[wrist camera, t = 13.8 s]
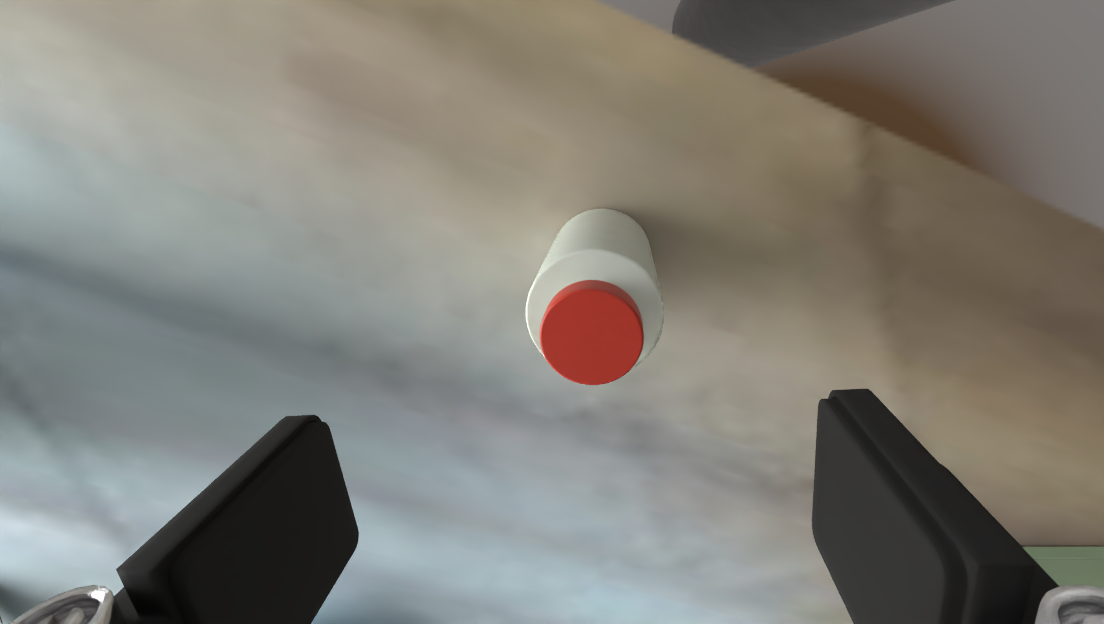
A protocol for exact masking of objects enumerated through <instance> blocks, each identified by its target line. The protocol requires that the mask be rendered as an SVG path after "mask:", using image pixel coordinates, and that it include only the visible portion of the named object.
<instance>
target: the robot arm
mask: <svg viewBox="0 0 1104 624" xmlns="http://www.w3.org/2000/svg"><path fill="white" fill-rule="evenodd" d="M812 529H813V535H814V539H815V542H816V545H817V547H818V549H819V551H820V553H821V556H822V558H823V560H824V562H825V564H826V566H827V568H828V570H829V572H830V574H831V577H832V579H833V581H834V583H835V585H836V587H837V589H838V591H839V593H840V596H841V598H842V600H843V602H844V604H845V606H846V608H847V610H848V612H849V614H850V617H851V619H852V621H853V623H854V624H1104V588H1101V587H1094V586H1087V585H1067V586H1059V585H1058V584H1057V583H1056V582H1055V581H1054V580H1053V579H1052V578H1051V577H1050V576H1049V575H1048V574H1047V573H1046V572H1045V571H1044V570H1043V568H1042V567H1041V566H1040V565H1039V564H1038V563H1037V562H1036V561H1035V560H1034V559H1033V558H1032V557H1031V556H1030V555H1029V554H1028V553H1027V552H1026V551H1025V550H1024V549H1023V547H1022V546H1021V545H1020V544H1019V543H1018V542H1017V541H1016V540H1015V539H1014V538H1013V537H1012V536H1011V535H1010V534H1009V533H1008V532H1007V531H1006V530H1005V529H1004V528H1003V527H1002V525H1001V524H1000V523H999V522H998V521H997V520H996V519H995V518H994V517H993V516H992V515H991V514H990V513H989V512H988V511H987V510H986V509H985V508H984V507H983V506H982V504H981V503H980V502H979V501H978V500H977V499H976V498H975V497H974V496H973V495H972V494H971V493H970V492H969V491H968V490H967V489H966V488H965V487H964V486H963V485H962V483H961V482H960V481H959V480H958V479H957V478H956V477H955V476H954V475H953V474H952V473H951V472H950V471H949V470H948V469H947V468H945V467H944V466H943V465H942V464H939V462H938V461H937V460H936V459H935V458H934V457H933V456H932V455H931V454H930V453H929V452H928V451H927V450H926V449H925V448H924V447H923V446H922V444H921V443H920V442H919V441H918V440H917V439H916V438H915V437H914V436H913V435H912V434H911V433H910V432H909V431H908V430H907V429H906V428H905V426H904V425H903V424H902V423H901V422H900V421H899V420H898V419H897V418H896V417H895V416H894V415H893V414H892V413H891V412H890V411H889V410H888V408H887V407H886V406H885V405H884V404H883V403H882V402H881V401H880V400H879V399H878V398H877V397H876V396H875V395H874V394H873V393H872V391H870V390H869V389H850V390H832V391H831V392H830V395H829V398H828V399H821V400H820V401H819V405H818V419H817V437H816V456H815V475H814V494H813V512H812ZM358 537H359V532H358V527H357V524H356V520H355V517H354V513H353V509H352V506H351V502H350V499H349V495H348V492H347V488H346V485H345V481H344V478H343V474H342V470H341V467H340V463H339V460H338V456H337V453H336V449H335V446H334V442H333V439H332V435H331V431H330V428H329V426H328V425H327V423H325V422H322V421H321V419H320V418H319V417H318V416H316V415H303V416H286V417H285V418H283V419H282V420H281V421H279V422H278V423H277V424H276V425H275V426H274V427H273V428H272V429H271V430H269V431H268V432H267V433H266V434H265V435H264V436H263V437H262V438H261V439H260V440H258V441H257V442H256V443H255V444H254V445H253V446H252V447H251V448H250V449H249V450H247V451H246V452H245V453H244V454H243V455H242V456H241V457H240V458H239V459H237V460H236V461H235V462H234V463H233V464H232V465H231V466H230V467H229V468H228V469H226V470H225V471H224V472H223V473H222V474H221V475H220V476H219V477H218V478H217V479H215V480H214V481H213V482H212V483H211V484H210V485H209V486H208V487H207V488H205V489H204V490H203V491H202V492H201V493H200V494H199V495H198V496H197V497H196V498H194V499H193V500H192V501H191V502H190V503H189V504H188V505H187V506H186V507H185V508H183V509H182V510H181V511H180V512H179V513H178V514H177V515H176V516H175V517H173V518H172V519H171V520H170V521H169V522H168V523H167V524H166V525H165V526H164V527H162V528H161V529H160V530H159V531H158V532H157V533H156V534H155V535H154V536H153V537H151V538H150V539H149V540H148V541H147V542H146V543H145V544H144V545H143V546H141V547H140V548H139V549H138V550H137V551H136V552H135V553H134V554H133V555H132V556H130V557H129V558H128V559H127V560H126V561H125V562H124V563H123V564H122V565H121V566H119V567H118V568H117V569H116V570H117V572H118V574H119V577H120V579H121V581H122V583H123V585H124V588H123V589H122V590H120V591H119V592H118V593H117V594H116V595H115V596H114V595H113V593H112V591H111V590H109V589H108V588H106V587H105V586H96V585H91V586H85V587H80V588H76V589H73V590H70V591H67V592H64V593H61V594H58V595H56V596H54V597H52V598H50V599H48V600H46V601H44V602H42V603H40V604H38V605H36V606H35V607H33V608H31V609H30V610H28V611H27V612H25V613H23V614H22V615H20V616H19V617H18V618H16V619H15V620H14V621H12V622H11V623H10V624H311V623H312V621H313V619H314V618H315V616H316V614H317V613H318V611H319V609H320V608H321V606H322V604H323V603H324V601H325V599H326V598H327V596H328V594H329V593H330V591H331V589H332V588H333V586H334V584H335V583H336V581H337V579H338V578H339V576H340V574H341V573H342V571H343V569H344V568H345V566H346V564H347V563H348V561H349V559H350V558H351V556H352V554H353V553H354V551H355V549H356V547H357V543H358Z"/></svg>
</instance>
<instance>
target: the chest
mask: <svg viewBox="0 0 1104 624" xmlns="http://www.w3.org/2000/svg"><path fill="white" fill-rule="evenodd" d="M1023 549H1024V550H1025V551H1026V552H1027V553H1028V554H1029V555H1030V556H1031V557H1032V558H1033V559H1034V560H1035V561H1036V562H1037V563H1038V564H1039V565H1040V566H1041V567H1042V568H1043V570H1044V571H1045V572H1046V573H1047V574H1048V575H1049V576H1050V577H1051V578H1052V579H1053V580H1054V581H1055V582H1056V583H1057V584H1058V585H1059V586H1067V585H1087V586H1094V587H1101V588H1104V546H1076V547H1023Z"/></svg>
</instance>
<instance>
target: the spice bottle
mask: <svg viewBox="0 0 1104 624" xmlns="http://www.w3.org/2000/svg"><path fill="white" fill-rule="evenodd" d="M526 321H527V327H528V330H529V333H530V336H531V338H532V340H533V342H534V344H535V345H536V347H537V348H538V350H539V351H540V352H541V353H542V355H543V356H544V357H545V358H546V360H547V361H548V363H549V364H550V365H551V366H552V368H553V369H554V370H556V371H557V372H558V373H559V374H560V375H562V376H563V377H565V378H567V379H569V380H571V381H574V382H577V383H580V384H586V385H600V384H605V383H609V382H612V381H614V380H616V379H619V378H620V377H622V376H623V375H625V374H626V373H627V372H629V371H630V370H631V369H632V368H633V367H635V366H637V365H638V364H639V363H640V362H642V361H643V360H644V359H645V358H646V357H647V356H648V355H649V354H650V353H651V351H652V350H653V348H654V347H655V345H656V343H657V342H658V340H659V337H660V335H661V332H662V328H663V323H664V305H663V301H662V296H661V292H660V287H659V283H658V279H657V274H656V270H655V265H654V261H653V257H652V252H651V248H650V244H649V241H648V238H647V236H646V234H645V232H644V231H643V229H642V228H641V227H640V225H639V224H638V223H637V222H636V221H634V220H633V219H632V218H631V217H629V216H627V215H626V214H624V213H621V212H619V211H616V210H612V209H592V210H588V211H585V212H582V213H580V214H578V215H576V216H574V217H573V218H572V219H570V220H569V221H568V222H567V223H566V224H565V225H564V226H563V227H562V229H561V230H560V231H559V233H558V235H557V237H556V239H555V241H554V243H553V245H552V247H551V249H550V250H549V252H548V254H547V256H546V258H545V260H544V262H543V264H542V266H541V268H540V270H539V272H538V274H537V276H536V278H535V280H534V282H533V284H532V286H531V289H530V291H529V294H528V298H527V303H526Z"/></svg>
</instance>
